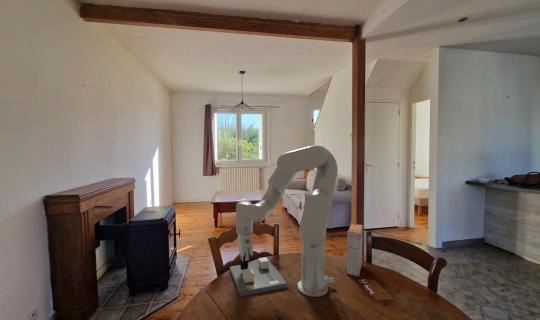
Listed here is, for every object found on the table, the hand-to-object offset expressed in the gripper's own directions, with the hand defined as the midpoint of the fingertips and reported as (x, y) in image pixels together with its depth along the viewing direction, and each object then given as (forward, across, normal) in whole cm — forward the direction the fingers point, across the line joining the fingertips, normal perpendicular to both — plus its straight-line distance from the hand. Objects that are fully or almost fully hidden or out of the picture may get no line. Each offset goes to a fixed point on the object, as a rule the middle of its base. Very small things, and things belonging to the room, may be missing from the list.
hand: (244, 268), depth 112 cm
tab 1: (+1, -8, 0) cm, 8 cm away
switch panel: (+4, -4, -5) cm, 7 cm away
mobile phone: (+5, -28, -50) cm, 57 cm away
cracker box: (+4, -11, -53) cm, 54 cm away
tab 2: (+1, +1, -10) cm, 10 cm away
